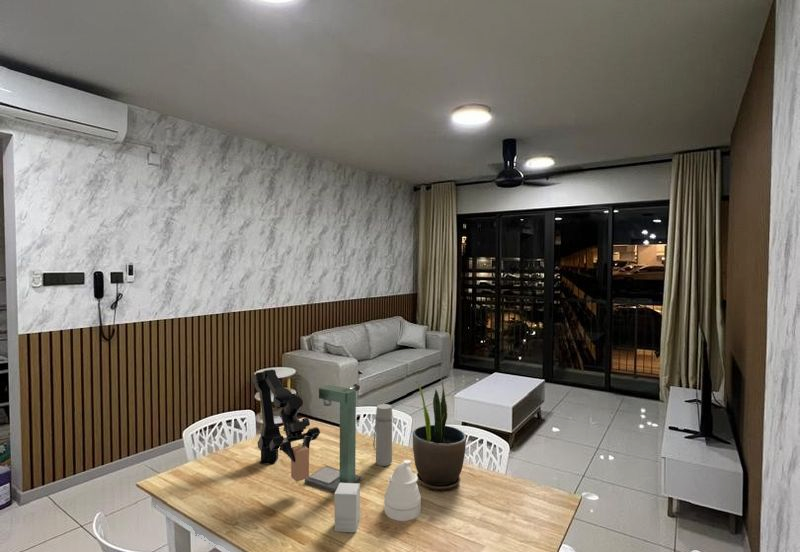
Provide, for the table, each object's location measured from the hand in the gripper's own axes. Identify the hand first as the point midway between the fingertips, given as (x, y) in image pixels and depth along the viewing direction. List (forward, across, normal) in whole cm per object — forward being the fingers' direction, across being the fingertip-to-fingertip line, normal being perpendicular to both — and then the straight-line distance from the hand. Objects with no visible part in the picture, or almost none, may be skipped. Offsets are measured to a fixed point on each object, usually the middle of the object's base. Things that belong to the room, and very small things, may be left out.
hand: (301, 459), depth 159 cm
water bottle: (+6, +40, +13) cm, 42 cm away
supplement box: (+28, +5, -9) cm, 30 cm away
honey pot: (+31, +25, -12) cm, 41 cm away
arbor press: (+7, +17, +12) cm, 22 cm away
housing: (+4, 0, +6) cm, 7 cm away
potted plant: (+25, +49, -6) cm, 56 cm away
